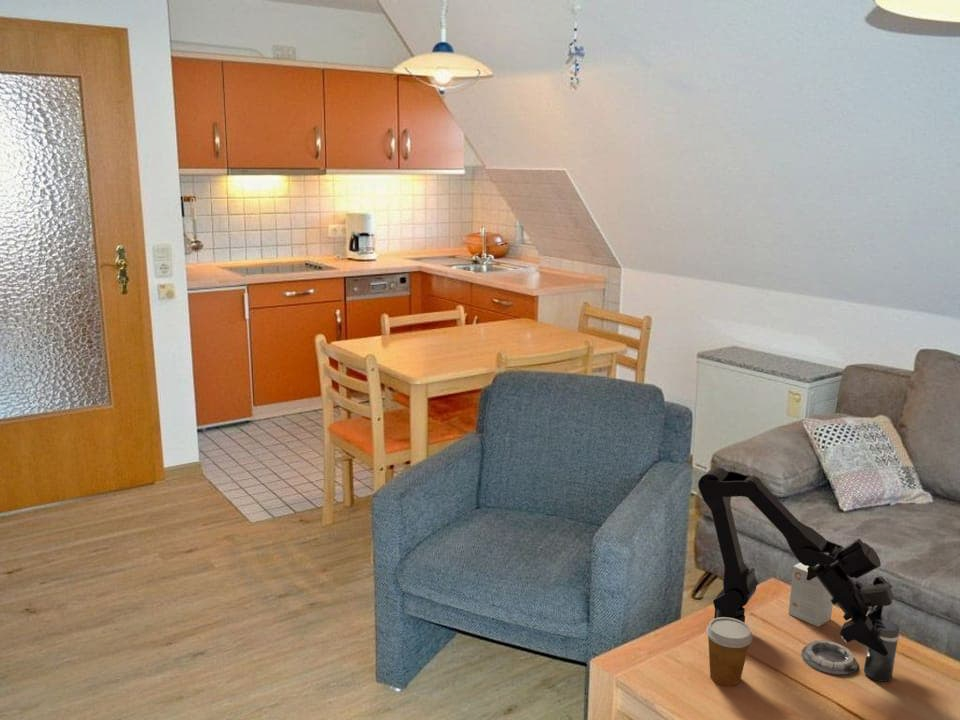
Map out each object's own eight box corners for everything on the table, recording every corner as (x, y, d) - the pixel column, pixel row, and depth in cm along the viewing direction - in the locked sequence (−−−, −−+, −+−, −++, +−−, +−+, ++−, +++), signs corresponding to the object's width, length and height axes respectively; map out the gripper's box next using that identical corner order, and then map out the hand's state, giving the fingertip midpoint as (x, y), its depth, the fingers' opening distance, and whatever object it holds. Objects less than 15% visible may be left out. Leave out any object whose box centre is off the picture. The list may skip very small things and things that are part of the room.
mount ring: (790, 654, 191) (791, 646, 190) (823, 640, 197) (824, 633, 196) (834, 681, 181) (835, 672, 181) (868, 665, 187) (869, 657, 187)
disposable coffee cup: (748, 670, 184) (753, 620, 182) (747, 695, 176) (752, 643, 173) (704, 661, 187) (708, 612, 185) (700, 685, 179) (704, 634, 176)
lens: (857, 670, 184) (864, 622, 182) (873, 663, 187) (880, 615, 185) (881, 684, 179) (889, 635, 177) (898, 676, 182) (905, 628, 180)
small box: (831, 619, 206) (837, 570, 204) (817, 627, 203) (823, 578, 200) (801, 606, 213) (806, 558, 210) (787, 613, 209) (792, 565, 206)
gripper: (864, 587, 173) (915, 653, 169) (879, 554, 188) (927, 614, 184) (819, 610, 179) (868, 674, 175) (838, 576, 194) (883, 635, 190)
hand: (888, 648), depth 181 cm, fingers closed on lens, 6 cm apart
